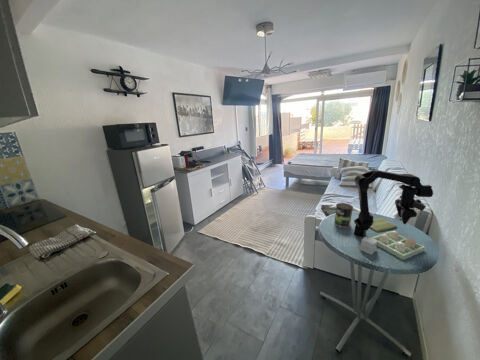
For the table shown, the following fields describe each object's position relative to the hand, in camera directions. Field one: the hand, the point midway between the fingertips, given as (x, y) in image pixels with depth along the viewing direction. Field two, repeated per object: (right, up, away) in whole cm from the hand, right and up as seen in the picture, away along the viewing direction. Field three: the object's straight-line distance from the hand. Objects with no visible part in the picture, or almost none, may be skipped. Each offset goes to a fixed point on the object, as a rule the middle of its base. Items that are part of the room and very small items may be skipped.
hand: (402, 220), depth 119 cm
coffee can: (-25, -7, +22) cm, 34 cm away
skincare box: (-25, -16, -7) cm, 31 cm away
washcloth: (-2, -8, +17) cm, 19 cm away
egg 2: (-5, -12, 0) cm, 13 cm away
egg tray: (-8, -14, -5) cm, 17 cm away
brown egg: (-2, -14, -7) cm, 16 cm away
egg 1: (-13, -13, -3) cm, 19 cm away
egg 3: (-10, -15, -10) cm, 21 cm away
